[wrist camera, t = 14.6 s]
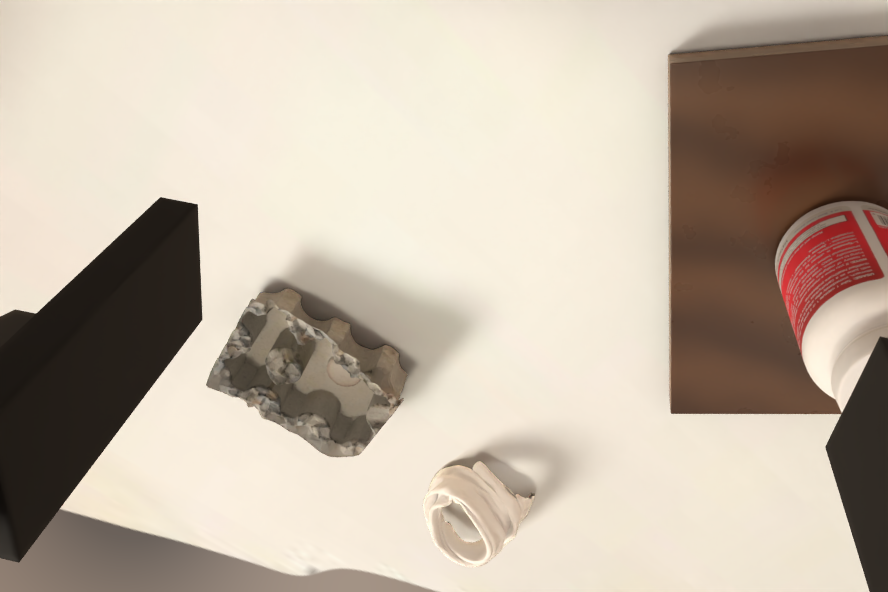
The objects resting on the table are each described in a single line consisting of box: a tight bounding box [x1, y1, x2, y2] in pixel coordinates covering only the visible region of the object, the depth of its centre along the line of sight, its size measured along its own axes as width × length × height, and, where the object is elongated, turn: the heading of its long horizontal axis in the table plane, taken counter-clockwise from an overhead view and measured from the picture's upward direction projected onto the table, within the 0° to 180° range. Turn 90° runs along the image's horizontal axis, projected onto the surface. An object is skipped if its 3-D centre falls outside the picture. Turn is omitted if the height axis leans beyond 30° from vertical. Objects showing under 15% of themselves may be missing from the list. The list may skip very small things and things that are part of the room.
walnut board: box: [668, 35, 888, 414], centre depth 42 cm, size 20×16×2 cm
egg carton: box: [206, 288, 408, 457], centre depth 51 cm, size 11×8×4 cm
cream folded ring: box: [423, 461, 535, 567], centre depth 54 cm, size 8×7×5 cm
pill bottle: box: [775, 201, 888, 412], centre depth 37 cm, size 6×6×11 cm
